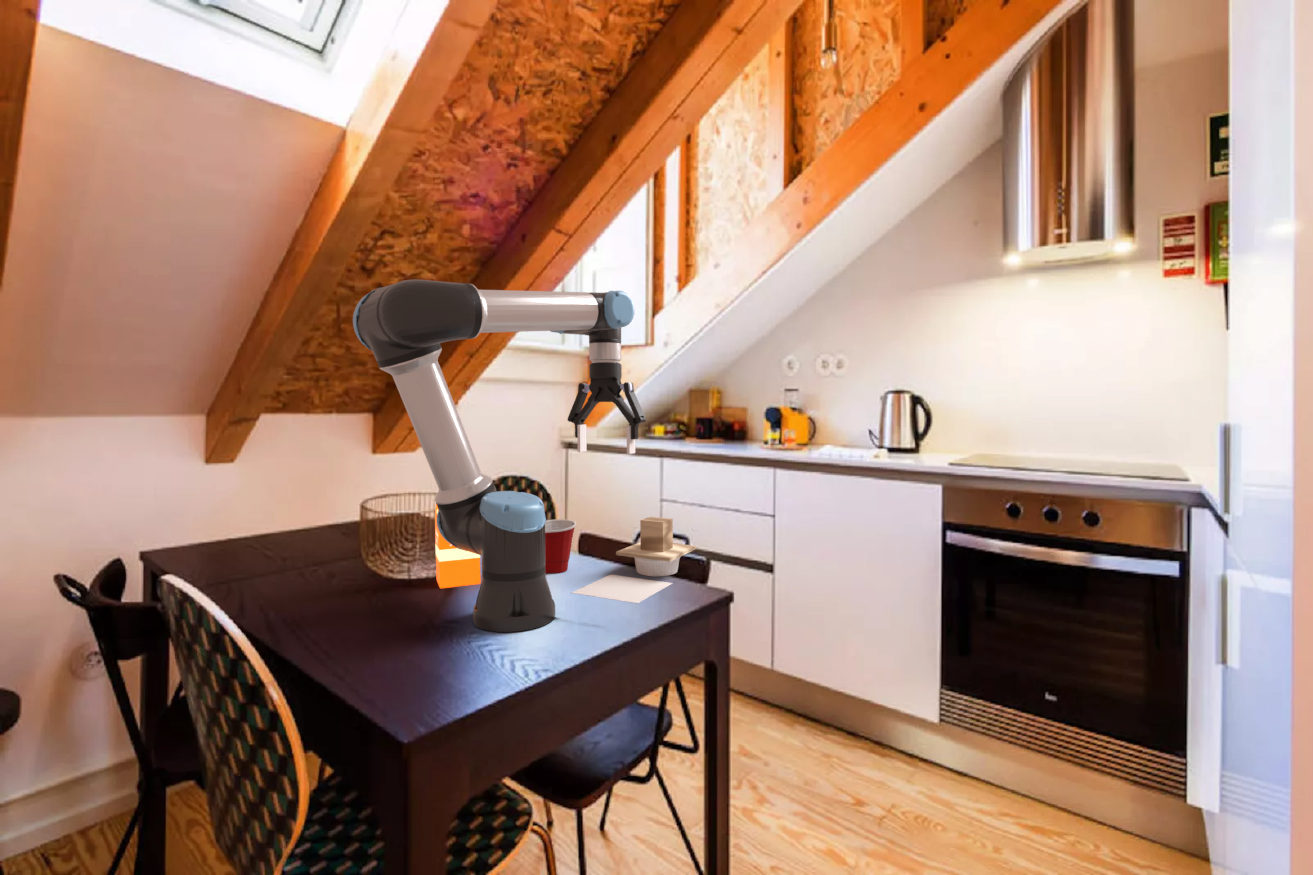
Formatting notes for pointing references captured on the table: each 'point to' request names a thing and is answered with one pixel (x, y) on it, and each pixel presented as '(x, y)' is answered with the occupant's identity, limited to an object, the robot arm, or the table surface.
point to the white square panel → (623, 588)
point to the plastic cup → (558, 544)
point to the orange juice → (454, 563)
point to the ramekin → (656, 567)
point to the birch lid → (656, 541)
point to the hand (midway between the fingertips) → (606, 452)
